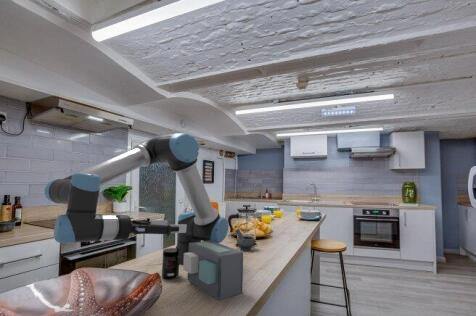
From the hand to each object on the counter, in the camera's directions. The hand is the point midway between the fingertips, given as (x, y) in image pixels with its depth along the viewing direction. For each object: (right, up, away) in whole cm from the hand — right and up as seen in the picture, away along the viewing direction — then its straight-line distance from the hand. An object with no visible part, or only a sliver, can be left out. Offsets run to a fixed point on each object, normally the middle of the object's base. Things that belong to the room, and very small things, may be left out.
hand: (175, 226), depth 97 cm
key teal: (+13, -17, -5) cm, 22 cm away
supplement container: (-5, -23, +11) cm, 26 cm away
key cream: (+6, -18, +5) cm, 19 cm away
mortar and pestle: (+26, -28, +56) cm, 68 cm away
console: (+13, -23, +2) cm, 27 cm away
